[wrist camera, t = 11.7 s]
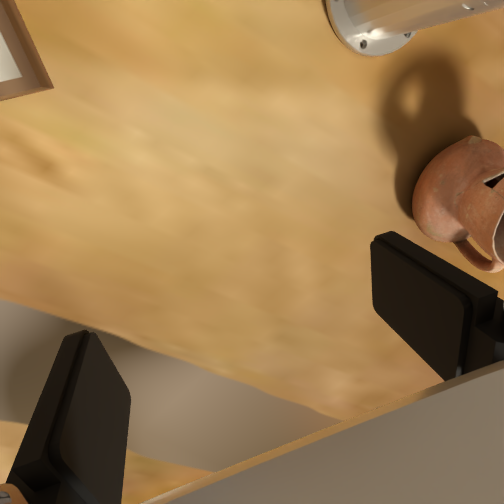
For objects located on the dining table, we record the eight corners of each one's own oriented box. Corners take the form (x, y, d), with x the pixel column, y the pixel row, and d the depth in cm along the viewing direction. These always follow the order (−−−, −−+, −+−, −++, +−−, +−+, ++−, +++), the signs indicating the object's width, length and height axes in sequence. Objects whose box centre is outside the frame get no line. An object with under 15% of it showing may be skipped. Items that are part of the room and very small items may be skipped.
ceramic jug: (408, 134, 43) (509, 149, 30) (498, 120, 45) (626, 129, 33) (394, 254, 51) (470, 305, 39) (472, 236, 54) (566, 278, 41)
